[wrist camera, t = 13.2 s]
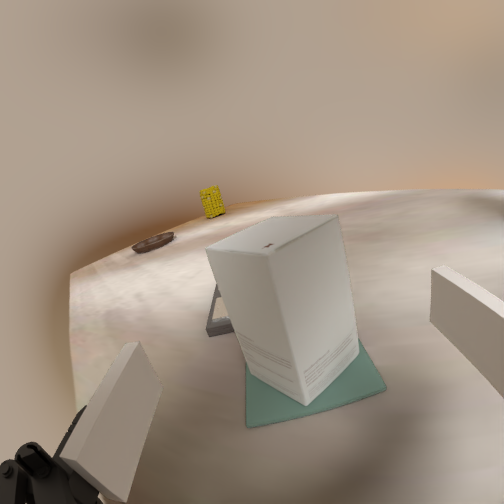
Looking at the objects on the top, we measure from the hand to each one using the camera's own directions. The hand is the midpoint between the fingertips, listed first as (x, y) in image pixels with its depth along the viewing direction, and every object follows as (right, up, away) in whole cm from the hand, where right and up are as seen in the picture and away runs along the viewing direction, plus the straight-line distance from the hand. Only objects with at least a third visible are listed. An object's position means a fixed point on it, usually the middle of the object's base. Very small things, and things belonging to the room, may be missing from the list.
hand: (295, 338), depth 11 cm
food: (-18, +20, +121) cm, 124 cm away
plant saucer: (-39, +5, +93) cm, 101 cm away
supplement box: (+3, -7, +12) cm, 14 cm away
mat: (+3, -7, +12) cm, 15 cm away
